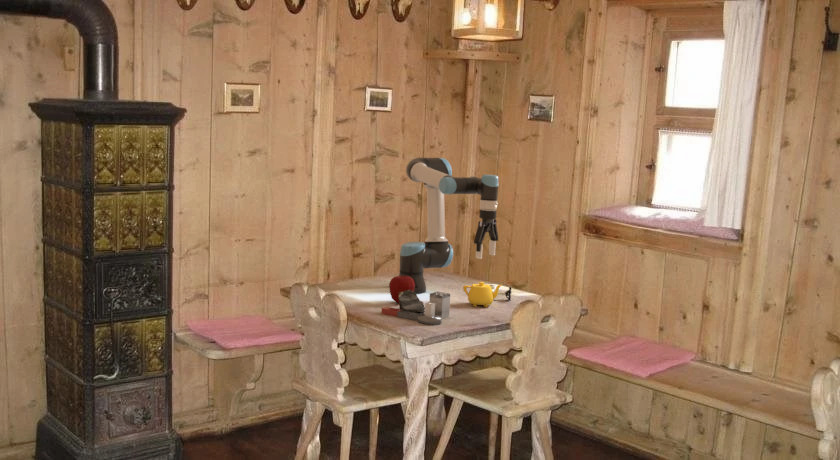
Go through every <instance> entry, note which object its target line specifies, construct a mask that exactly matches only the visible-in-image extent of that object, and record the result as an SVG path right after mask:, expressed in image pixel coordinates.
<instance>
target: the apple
mask: <svg viewBox="0 0 840 460" xmlns="http://www.w3.org/2000/svg"><path fill="white" fill-rule="evenodd" d="M388 285H389V286H388V287H389V288H388V289H389V294H390V296H391V299H392V300H393V301H394V302H395V303H397V304H398V305H399V292H404V291H408V290H411V291H414V288H415V282H414V280H413V279H412V278H411V277H410V276H399V275H397V276H394V277H393V278H391V279H390V282H389V284H388Z"/></svg>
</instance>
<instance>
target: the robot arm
mask: <svg viewBox="0 0 840 460" xmlns="http://www.w3.org/2000/svg"><path fill="white" fill-rule="evenodd" d="M405 173H406V176H407V178H409V180H411V181H413V182H416V183H423V187H425V189H426V215H427V218H426V221H427V237H426V238H425V240H424V242H422V241H409V242H405V243H403V244H402V245H401V247H400V251H399V271H398V272H399V275H398V276H410V277H411V278H412V279H413V280H414V282H415V288H414V292H415V293H416V294H423V293H425V292H427V284H426V280H425V277H424V270H425V269H441V268H447V267H448V266H450V265H451V263H452V261H453V257H454V249H453V246H452V245H451V244H450V243H449V239H447V238H446V220H445V219H446V217H445V216H446V215H445V214H446V213H445V211H446V209H445V195H480V201H479V214H478V216H479V217H478V218H479V219H481V221H478V222H477V229H476V233H475V236H474V239H473V243H474V244H475V245H476V246H475V247H476V249H475V259H478V260H482V259H483V246H484V244H482V243H483V241H484V239H485V236H486V234H487V233H488V235H489V239H490V240H489V244H488V245H489V246H488V249H489V250H488V255H489V256H496V247H497V245H496V244H497V243H496V242H498V241H499V233H498V227H497V214H498V213H497V208H498V206H499V205H498V204H499V203H498V197H499V196H498V195H499V185H500V184H499V176H498V175H496V174H483V175H481V177H478V176H470V177H469V176H468V177H467V176H466V177H465V176H464V177H463V176H462V177H461V176H460V177H457V176H453V170H452V166H451V163H450V162H449V161H448V159H446V158H444V157H415V158H413V159H411V160H410V161H409V162H408V163H407V165H406V168H405Z"/></svg>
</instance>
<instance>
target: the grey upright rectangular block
mask: <svg viewBox="0 0 840 460" xmlns="http://www.w3.org/2000/svg"><path fill="white" fill-rule="evenodd" d="M428 300H429V301H428V302H431V303H435V314H437V315H440V316H441V317H442V319H441V320H444V319H446V318H449V317H450V310H451V309H450V307H451V306H450V305H451V293H447V292H442V291H435V292H431V293H429V299H428Z"/></svg>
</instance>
